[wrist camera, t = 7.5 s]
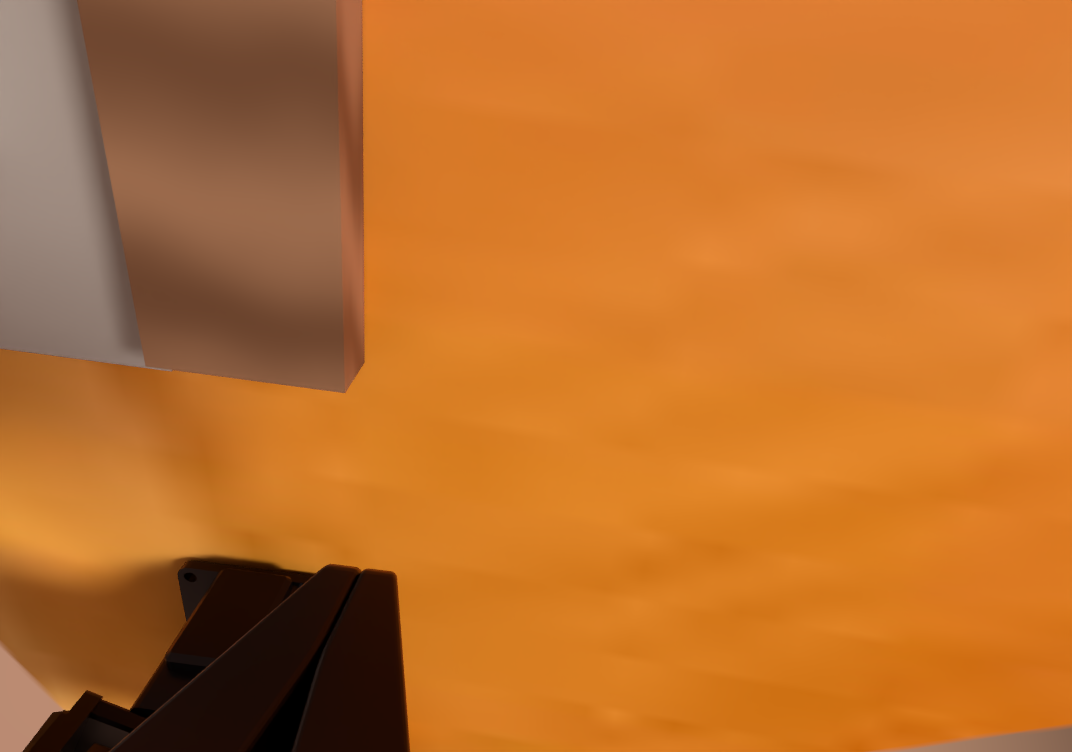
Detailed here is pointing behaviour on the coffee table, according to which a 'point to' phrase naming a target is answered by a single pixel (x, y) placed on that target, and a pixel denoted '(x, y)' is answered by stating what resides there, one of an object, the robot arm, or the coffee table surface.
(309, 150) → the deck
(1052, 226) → the coffee table surface
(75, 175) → the mat
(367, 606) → the robot arm
